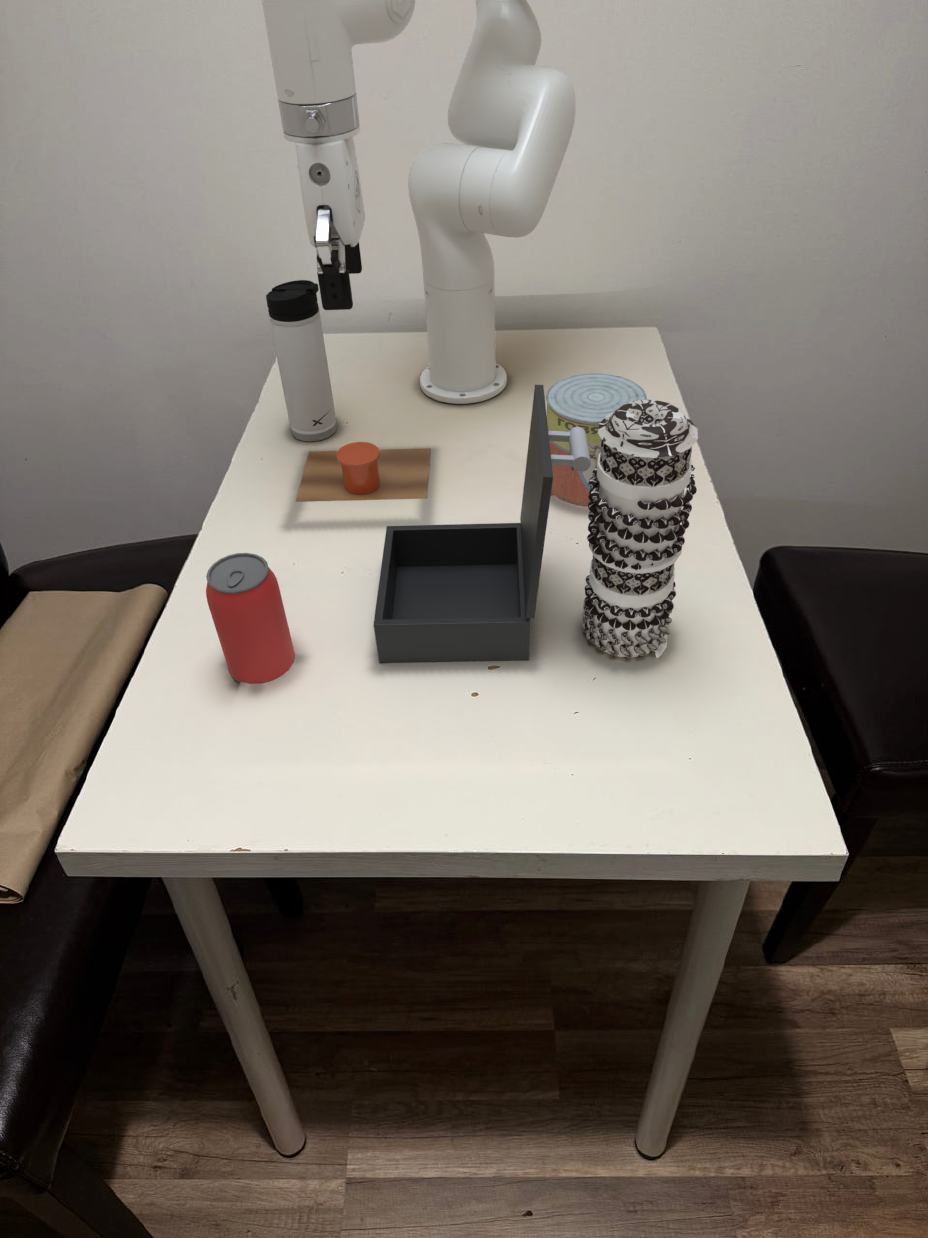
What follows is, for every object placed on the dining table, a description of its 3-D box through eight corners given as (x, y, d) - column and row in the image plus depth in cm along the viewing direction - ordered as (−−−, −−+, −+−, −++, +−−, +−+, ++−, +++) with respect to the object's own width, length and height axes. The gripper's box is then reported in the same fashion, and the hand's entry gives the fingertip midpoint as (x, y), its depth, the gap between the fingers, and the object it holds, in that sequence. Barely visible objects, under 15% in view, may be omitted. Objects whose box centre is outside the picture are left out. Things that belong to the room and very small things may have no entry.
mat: (309, 454, 117) (308, 451, 117) (430, 450, 116) (430, 447, 116) (289, 526, 105) (289, 523, 105) (425, 523, 105) (424, 520, 104)
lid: (543, 476, 72) (600, 479, 72) (534, 384, 84) (583, 386, 84) (525, 618, 82) (575, 620, 82) (520, 518, 94) (563, 520, 94)
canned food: (558, 518, 104) (561, 427, 96) (534, 467, 112) (535, 380, 104) (650, 504, 106) (661, 413, 98) (619, 454, 114) (627, 367, 106)
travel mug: (331, 444, 119) (308, 296, 105) (284, 440, 120) (255, 294, 106) (345, 420, 123) (324, 275, 110) (300, 417, 124) (274, 273, 111)
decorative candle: (680, 618, 91) (717, 395, 74) (659, 680, 85) (695, 452, 68) (593, 598, 94) (610, 379, 77) (567, 656, 87) (579, 432, 70)
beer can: (219, 686, 86) (189, 592, 78) (241, 639, 91) (214, 546, 83) (285, 691, 85) (261, 597, 77) (303, 644, 90) (282, 550, 82)
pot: (343, 473, 112) (339, 442, 109) (384, 472, 112) (381, 440, 109) (339, 497, 109) (333, 465, 106) (381, 496, 108) (377, 464, 105)
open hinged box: (379, 668, 87) (373, 625, 83) (391, 568, 99) (386, 525, 95) (529, 666, 87) (529, 622, 83) (523, 565, 98) (524, 522, 94)
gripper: (348, 139, 80) (370, 322, 92) (366, 93, 93) (383, 259, 105) (266, 143, 80) (297, 325, 92) (295, 96, 93) (320, 261, 105)
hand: (343, 289), depth 98 cm, fingers open, 9 cm apart
